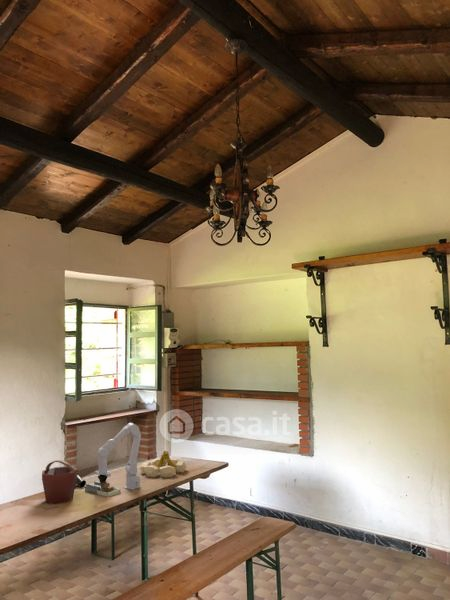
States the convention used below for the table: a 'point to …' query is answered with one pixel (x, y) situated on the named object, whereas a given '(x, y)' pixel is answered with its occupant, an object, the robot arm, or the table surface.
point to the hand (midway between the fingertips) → (102, 486)
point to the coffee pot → (80, 482)
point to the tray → (115, 491)
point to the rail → (93, 487)
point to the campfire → (163, 466)
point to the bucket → (59, 483)
